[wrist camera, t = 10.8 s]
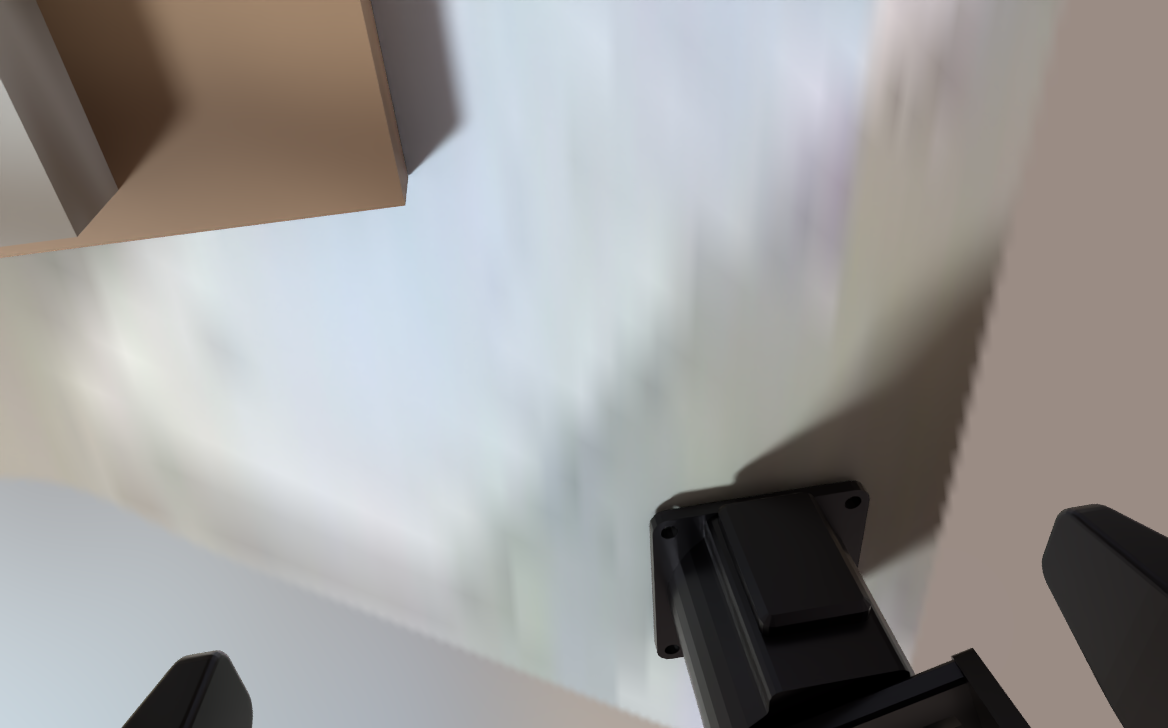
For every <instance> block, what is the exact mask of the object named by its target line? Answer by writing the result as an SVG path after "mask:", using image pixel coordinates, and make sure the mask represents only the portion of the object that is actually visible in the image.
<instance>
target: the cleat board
mask: <svg viewBox="0 0 1168 728" xmlns="http://www.w3.org/2000/svg"><path fill="white" fill-rule="evenodd" d="M407 184H408V174H407V169H406V164H405V160H404V155H403V150H402V146H401V141H400V136H399V132H398V127H397V122H396V118H395V113H394V108H393V104H392V99H391V94H390V90H389V85H388V80H387V76H386V71H385V66H384V62H383V57H382V52H381V48H380V43H379V38H378V34H377V29H376V24H375V20H374V15H373V10H372V5H371V1H370V0H0V258H3V257H11V256H18V255H26V254H34V253H42V252H49V251H57V250H65V249H72V248H80V247H88V246H96V245H103V244H111V243H119V242H127V241H134V240H142V239H150V238H157V237H165V236H173V235H181V234H188V233H196V232H204V231H211V230H219V229H227V228H235V227H242V226H250V225H258V224H266V223H273V222H281V221H289V220H296V219H304V218H312V217H320V216H327V215H335V214H343V213H351V212H358V211H366V210H374V209H381V208H389V207H397V206H405V203H406V193H407Z"/></svg>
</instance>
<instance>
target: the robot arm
mask: <svg viewBox="0 0 1168 728" xmlns="http://www.w3.org/2000/svg"><path fill="white" fill-rule="evenodd" d="M868 505H869V495H868V493H867V491H866V490H865V488H864V487H863V485H862V484H861V483H860V482H857V481H846V482H839V483H833V484H827V485H821V486H814V487H808V488H802V489H796V490H790V491H783V492H777V493H771V494H765V495H758V496H752V497H746V498H740V499H734V500H727V501H721V502H715V503H709V504H702V505H696V506H690V507H684V508H678V509H671V510H666V511H662V512H659V513H658V514H656V515H655V516H654V517H653V518H652V519H651V521H650V548H651V571H652V594H653V617H654V639H655V645H656V649H657V653H658V655H659V656H660V657H661V658H665V659H674V658H679V657H684V659H685V662H686V666H687V669H688V673H689V676H690V680H691V683H692V687H693V690H694V694H695V698H696V701H697V705H698V708H699V712H700V715H701V719H702V722H703V726H704V728H1031V727H1030V726H1029V725H1028V723H1027V722H1026V721H1025V719H1024V718H1023V717H1022V715H1021V714H1020V712H1019V711H1018V709H1017V708H1016V707H1015V705H1014V704H1013V703H1012V701H1011V700H1010V698H1009V697H1008V696H1007V694H1006V693H1005V692H1004V690H1003V689H1002V687H1001V686H1000V685H999V683H998V682H997V681H996V679H995V678H994V676H993V675H992V674H991V672H990V671H989V669H988V668H987V667H986V665H985V664H984V663H983V661H982V660H981V658H980V657H979V656H978V655H977V653H976V652H975V650H974V649H973V648H970V649H968V650H965V651H963V652H960V653H958V654H955V655H953V656H951V657H952V660H951V661H949V662H946V663H944V664H941V665H939V666H936V667H934V668H931V669H929V670H926V671H924V672H921V673H919V674H916V675H915V673H914V671H913V669H912V667H911V666H910V664H909V662H908V660H907V658H906V656H905V655H904V653H903V651H902V649H901V647H900V646H899V644H898V642H897V640H896V638H895V636H894V635H893V633H892V631H891V629H890V627H889V625H888V624H887V622H886V620H885V618H884V616H883V615H882V613H881V611H880V609H879V607H878V605H877V604H876V602H875V600H874V598H873V596H872V594H871V593H870V591H869V589H868V587H867V585H866V584H865V582H864V580H863V578H862V576H861V574H860V573H859V571H858V569H857V568H858V562H859V557H860V551H861V545H862V540H863V534H864V528H865V523H866V517H867V511H868ZM668 526H672V527H670V528H667V529H664V528H666V527H668ZM1042 569H1043V574H1044V578H1045V580H1046V583H1047V585H1048V587H1049V589H1050V590H1051V592H1052V594H1053V596H1054V598H1055V600H1056V602H1057V604H1058V606H1059V608H1060V610H1061V612H1062V614H1063V616H1064V617H1065V619H1066V622H1067V623H1068V625H1069V627H1070V629H1071V631H1072V633H1073V635H1074V637H1075V639H1076V641H1077V643H1078V645H1079V647H1080V649H1081V650H1082V653H1083V654H1084V656H1085V658H1086V660H1087V662H1088V664H1089V666H1090V668H1091V670H1092V672H1093V673H1094V676H1095V678H1096V680H1097V682H1098V684H1099V685H1100V687H1101V689H1102V691H1103V693H1104V695H1105V697H1106V698H1107V700H1108V702H1109V704H1110V706H1111V707H1112V709H1113V711H1114V712H1115V714H1116V716H1117V717H1118V719H1119V721H1120V722H1121V724H1122V725H1123V727H1124V728H1168V537H1166V536H1164V535H1162V534H1160V533H1158V532H1156V531H1154V530H1152V529H1150V528H1148V527H1146V526H1144V525H1143V524H1141V523H1139V522H1137V521H1134V520H1133V519H1131V518H1129V517H1127V516H1125V515H1123V514H1121V513H1119V512H1117V511H1115V510H1113V509H1111V508H1109V507H1107V506H1104V505H1100V504H1091V505H1084V506H1079V507H1072V508H1068V509H1064V510H1063V511H1061V512H1060V513H1059V515H1058V516H1057V518H1056V520H1055V523H1054V526H1053V529H1052V532H1051V535H1050V537H1049V540H1048V543H1047V546H1046V549H1045V552H1044V554H1043V558H1042ZM252 720H253V710H252V703H251V699H250V696H249V694H248V691H247V690H246V688H245V686H244V684H243V682H242V680H241V678H240V677H239V675H238V673H237V671H236V669H235V667H234V666H233V664H232V662H231V660H230V658H229V657H228V656H227V654H225V653H224V652H222V651H211V652H204V653H198V654H192V655H188V656H185V657H182V658H181V659H179V660H178V661H177V662H176V663H175V664H174V665H173V666H172V667H171V668H170V669H169V671H168V672H167V673H166V674H165V675H164V677H163V678H162V679H161V680H160V682H159V683H158V684H157V685H156V686H155V688H154V689H153V690H152V691H151V693H150V694H149V695H148V696H147V697H146V699H145V700H144V701H143V702H142V704H141V705H140V706H139V707H138V708H137V710H136V711H135V712H134V713H133V714H132V716H131V717H130V718H129V719H128V720H127V722H126V723H125V724H124V725H123V727H122V728H252Z"/></svg>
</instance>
